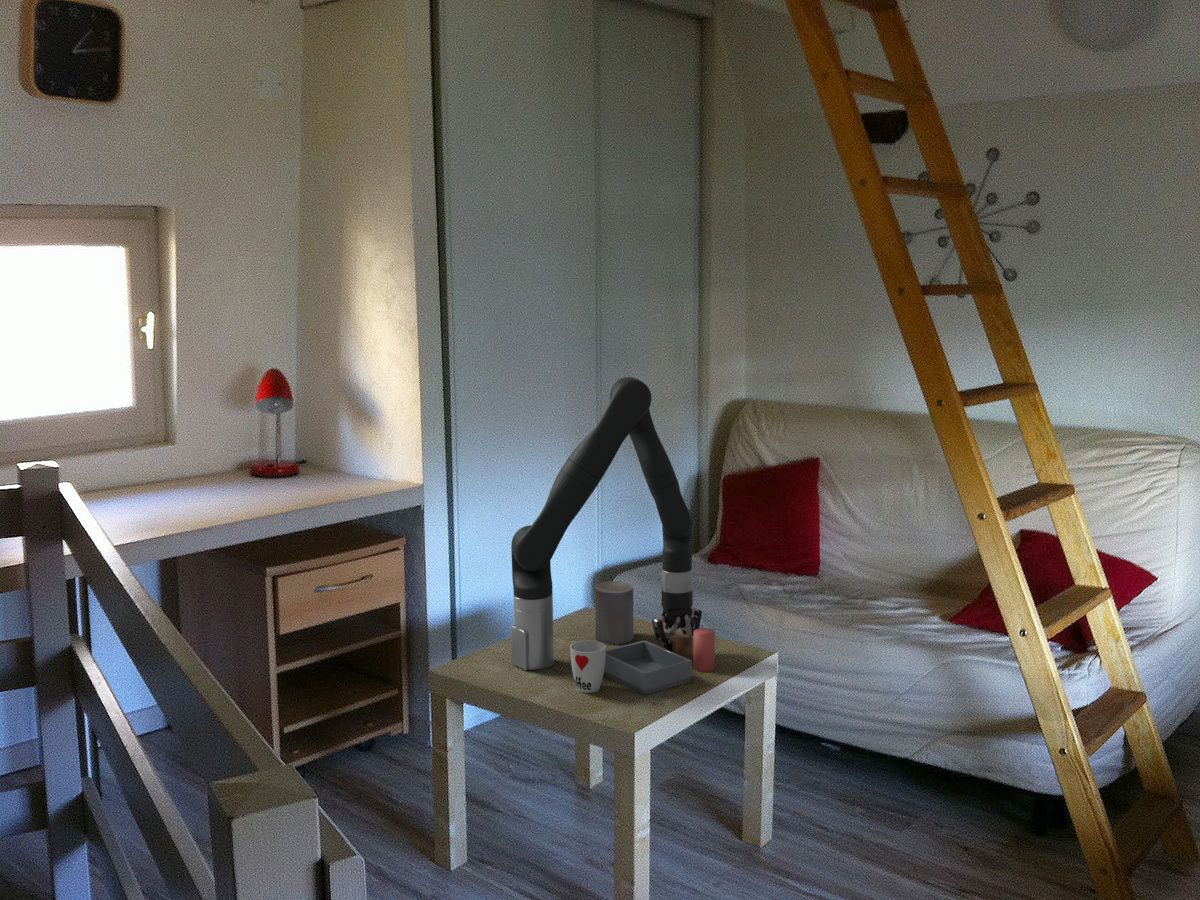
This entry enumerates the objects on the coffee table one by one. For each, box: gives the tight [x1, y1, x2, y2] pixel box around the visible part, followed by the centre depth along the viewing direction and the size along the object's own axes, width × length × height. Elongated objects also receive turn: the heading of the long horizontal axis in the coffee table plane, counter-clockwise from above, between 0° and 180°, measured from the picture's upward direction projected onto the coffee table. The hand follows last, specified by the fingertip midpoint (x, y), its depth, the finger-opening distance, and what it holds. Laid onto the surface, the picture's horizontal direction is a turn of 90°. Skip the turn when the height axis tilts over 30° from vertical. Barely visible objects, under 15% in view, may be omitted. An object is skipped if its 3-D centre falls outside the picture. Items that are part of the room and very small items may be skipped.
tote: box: [603, 640, 693, 696], centre depth 285 cm, size 14×18×5 cm
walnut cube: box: [667, 631, 693, 659], centre depth 298 cm, size 5×5×5 cm
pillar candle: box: [594, 580, 634, 645], centre depth 311 cm, size 10×10×15 cm
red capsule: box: [692, 627, 716, 673], centre depth 290 cm, size 5×5×9 cm
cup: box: [569, 640, 607, 694], centre depth 278 cm, size 8×8×10 cm
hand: (677, 654), depth 298 cm, fingers closed on walnut cube, 5 cm apart
